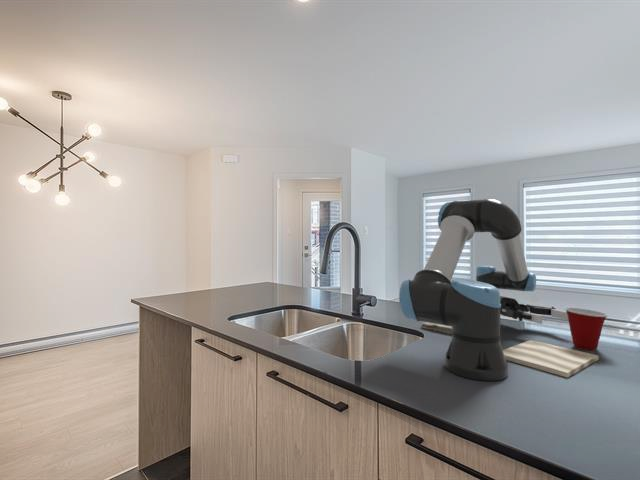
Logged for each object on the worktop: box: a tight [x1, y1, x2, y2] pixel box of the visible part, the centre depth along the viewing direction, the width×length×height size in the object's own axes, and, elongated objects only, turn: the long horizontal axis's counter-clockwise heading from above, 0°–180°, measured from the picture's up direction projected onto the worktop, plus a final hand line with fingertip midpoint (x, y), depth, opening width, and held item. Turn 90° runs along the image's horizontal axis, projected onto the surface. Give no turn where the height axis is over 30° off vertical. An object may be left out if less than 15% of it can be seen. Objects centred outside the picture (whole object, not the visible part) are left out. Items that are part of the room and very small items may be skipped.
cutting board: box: [502, 339, 600, 378], centre depth 97 cm, size 22×18×1 cm
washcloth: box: [420, 322, 452, 335], centre depth 128 cm, size 12×18×3 cm, turn 44°
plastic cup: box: [564, 307, 609, 351], centre depth 107 cm, size 11×11×12 cm
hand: (556, 318), depth 116 cm, fingers open, 13 cm apart
